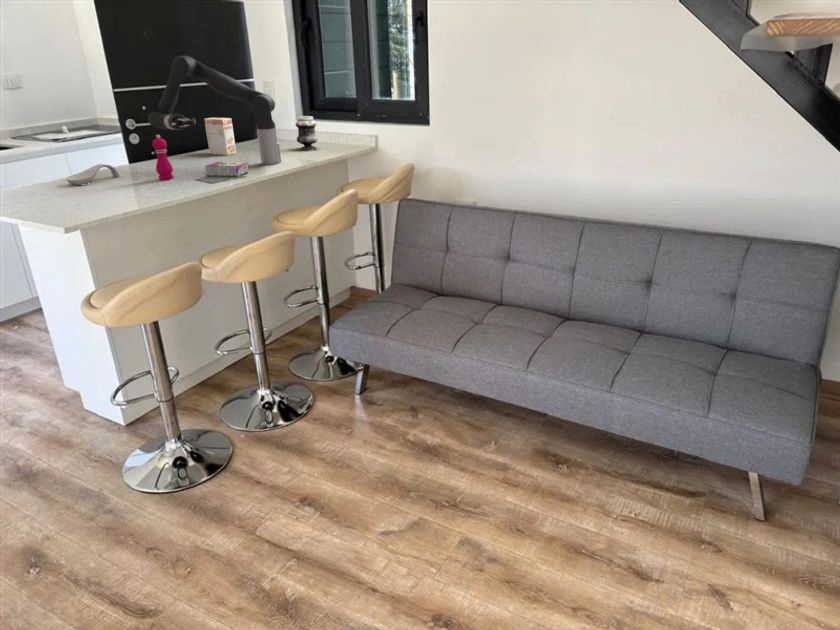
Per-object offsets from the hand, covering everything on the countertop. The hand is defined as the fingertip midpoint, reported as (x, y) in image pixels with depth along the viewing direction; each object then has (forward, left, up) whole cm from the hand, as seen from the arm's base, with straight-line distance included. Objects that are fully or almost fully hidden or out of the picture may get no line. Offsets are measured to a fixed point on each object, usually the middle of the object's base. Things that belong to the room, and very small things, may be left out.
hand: (192, 122), depth 293 cm
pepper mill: (+20, +4, -23) cm, 31 cm away
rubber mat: (+4, +25, -23) cm, 34 cm away
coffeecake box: (-35, -38, -23) cm, 56 cm away
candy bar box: (+2, +13, -20) cm, 24 cm away
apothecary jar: (-73, -9, -23) cm, 77 cm away
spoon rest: (+43, -20, -23) cm, 53 cm away
